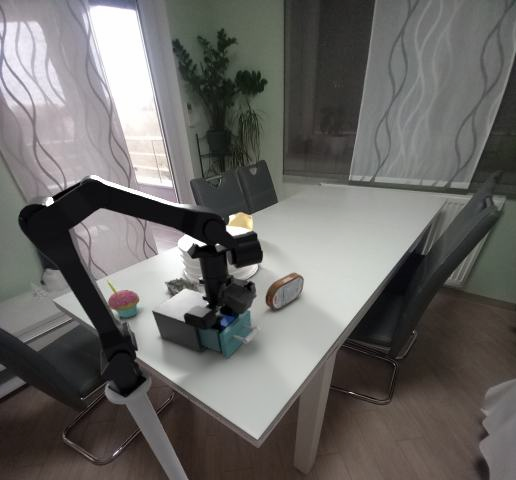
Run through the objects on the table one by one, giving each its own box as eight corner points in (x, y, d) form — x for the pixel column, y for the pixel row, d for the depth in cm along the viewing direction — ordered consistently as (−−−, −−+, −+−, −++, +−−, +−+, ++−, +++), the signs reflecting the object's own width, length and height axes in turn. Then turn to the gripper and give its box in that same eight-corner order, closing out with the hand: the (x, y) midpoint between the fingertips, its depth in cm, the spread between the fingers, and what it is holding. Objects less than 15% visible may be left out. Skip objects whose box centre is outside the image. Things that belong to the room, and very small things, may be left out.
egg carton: (201, 294, 91) (199, 283, 88) (181, 302, 87) (178, 291, 85) (185, 283, 97) (182, 273, 94) (165, 291, 93) (162, 280, 91)
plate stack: (218, 294, 90) (212, 261, 83) (170, 271, 105) (162, 242, 98) (272, 265, 105) (272, 235, 98) (224, 249, 120) (220, 222, 113)
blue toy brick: (228, 340, 67) (225, 326, 64) (213, 335, 69) (210, 321, 66) (236, 332, 69) (235, 317, 67) (222, 327, 71) (220, 313, 68)
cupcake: (125, 324, 79) (109, 287, 72) (108, 316, 83) (90, 280, 75) (149, 310, 85) (136, 274, 77) (131, 303, 88) (117, 268, 81)
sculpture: (255, 233, 135) (254, 209, 128) (250, 241, 126) (248, 217, 119) (233, 232, 137) (230, 209, 130) (226, 241, 128) (223, 217, 121)
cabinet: (228, 325, 76) (224, 299, 71) (200, 352, 68) (193, 324, 63) (191, 313, 82) (185, 288, 76) (161, 337, 74) (151, 310, 68)
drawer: (266, 336, 70) (265, 314, 66) (242, 364, 63) (239, 341, 59) (214, 320, 77) (210, 299, 73) (187, 343, 70) (181, 321, 65)
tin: (297, 292, 89) (298, 267, 83) (304, 295, 87) (306, 270, 82) (264, 311, 81) (263, 285, 76) (272, 315, 79) (272, 289, 74)
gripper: (220, 302, 49) (229, 364, 59) (268, 262, 61) (270, 319, 71) (174, 289, 53) (190, 348, 64) (228, 254, 66) (234, 309, 76)
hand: (224, 330), depth 68 cm, fingers closed on blue toy brick, 4 cm apart
